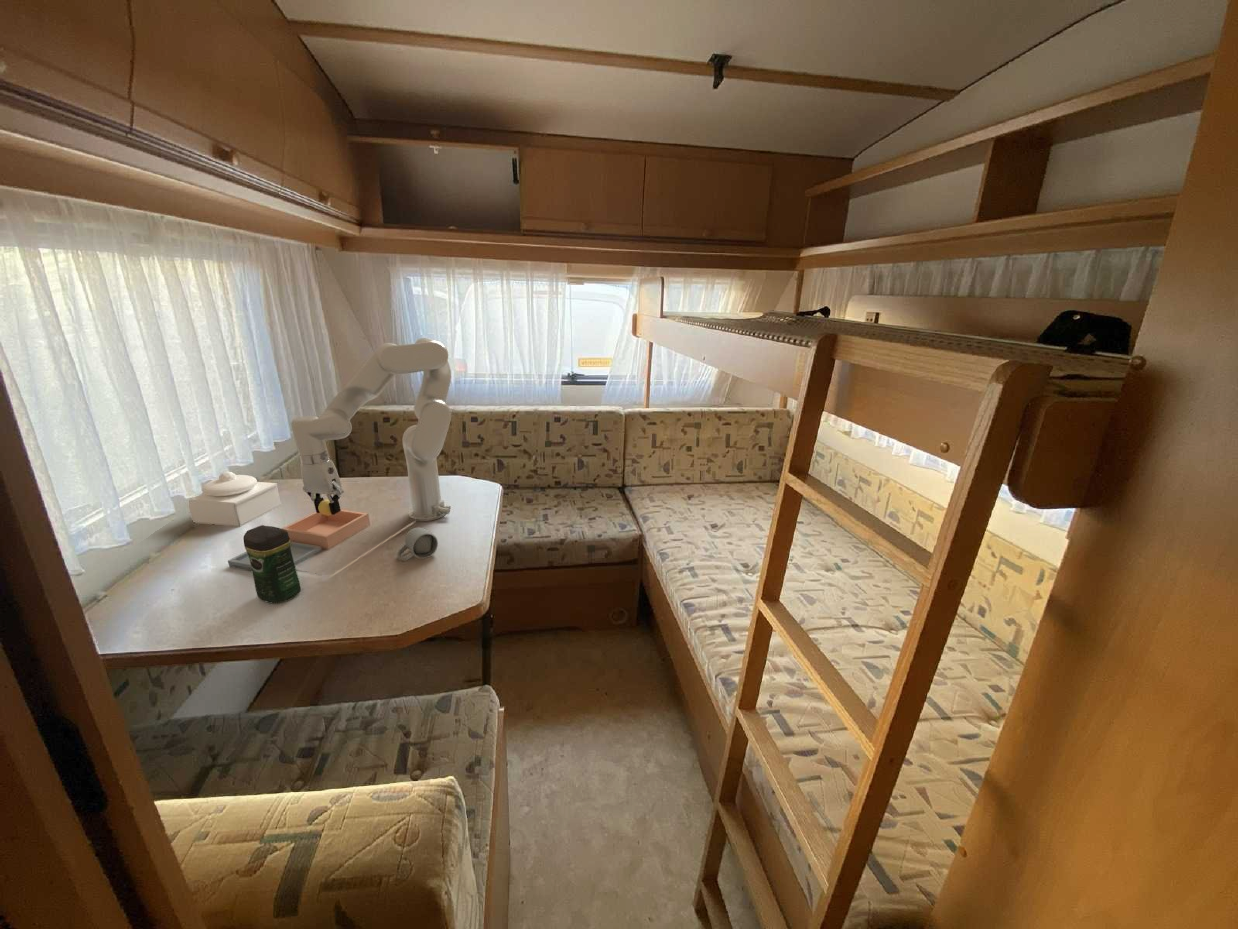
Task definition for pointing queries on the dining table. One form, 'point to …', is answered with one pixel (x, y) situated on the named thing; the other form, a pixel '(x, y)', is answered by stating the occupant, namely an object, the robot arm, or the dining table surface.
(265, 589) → the coffee jar
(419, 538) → the ceramic mug
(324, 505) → the ochre ball
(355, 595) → the dining table surface
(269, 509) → the white box with knob
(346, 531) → the terracotta dish
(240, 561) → the grey tray
